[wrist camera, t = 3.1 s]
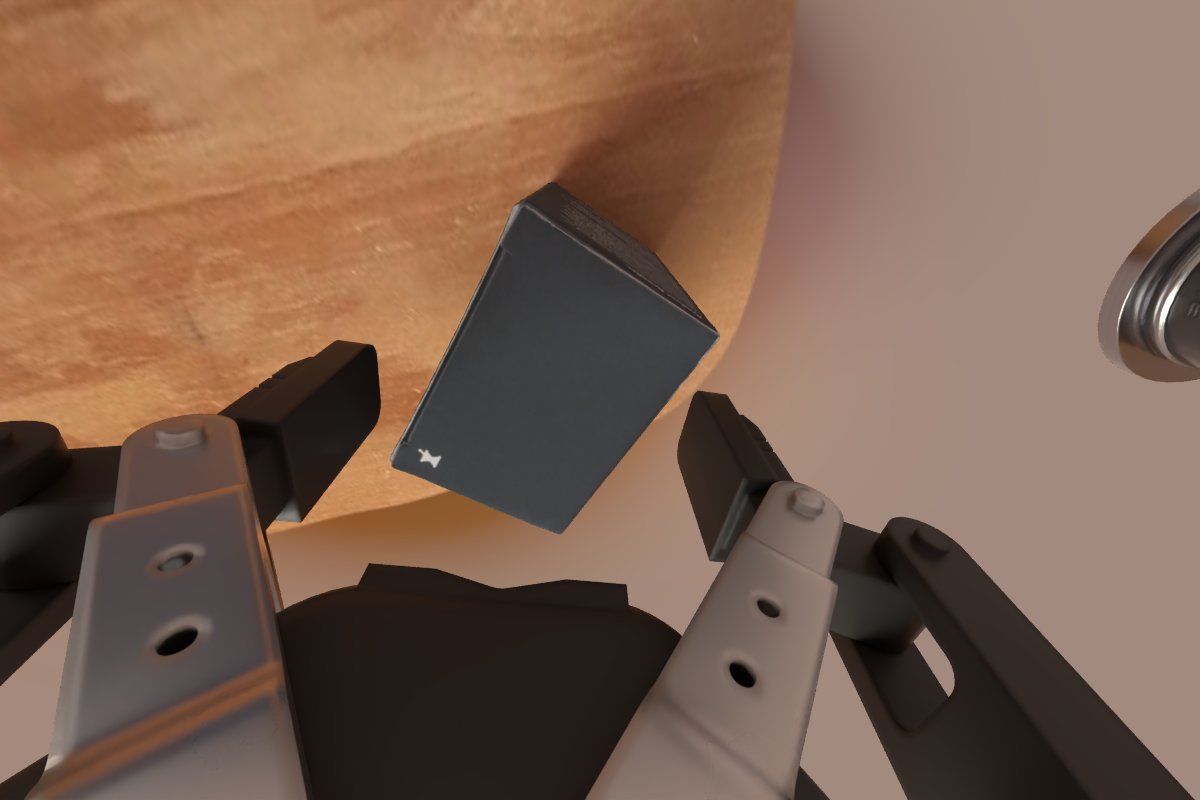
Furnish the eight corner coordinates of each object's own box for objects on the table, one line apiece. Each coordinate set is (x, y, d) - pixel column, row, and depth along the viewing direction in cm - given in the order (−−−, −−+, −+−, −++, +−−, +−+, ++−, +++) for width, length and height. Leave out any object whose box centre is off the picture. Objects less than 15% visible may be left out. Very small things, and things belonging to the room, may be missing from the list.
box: (570, 385, 22) (560, 543, 13) (469, 329, 21) (377, 465, 12) (660, 253, 19) (730, 338, 10) (550, 175, 18) (513, 192, 8)
